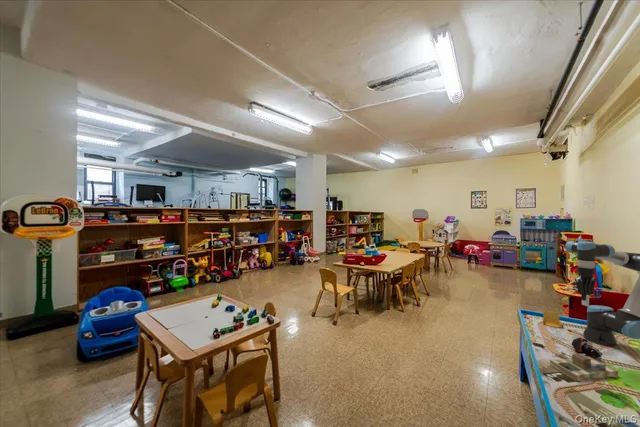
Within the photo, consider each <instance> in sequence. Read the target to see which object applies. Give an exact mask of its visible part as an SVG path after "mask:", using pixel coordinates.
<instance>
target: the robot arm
mask: <svg viewBox="0 0 640 427" xmlns="http://www.w3.org/2000/svg"><path fill="white" fill-rule="evenodd" d="M564 247H565V249H566V251H567V252H569V253H572V254H573V253H575V254H576V256H577V257H576V263H577V264H576V265H577V266H576V272H577V273H578V276H577V278H576V277H575V278H574V281H575V284H576V288H577V294H580V295H581V305H582V306H585V307H587V308H586V309H587V310H586V314H587V315H586V327H585V329H584V330H583V337H582V338H583V339H586V340H587V341H588V342H590V343H595V344H598V345H602V346H607V347H616V346H618V341H617V339H616V336H615V334H614V332H615V333H618V334H620V335H623V336H624V337H628V338H629V339H630V338H631V339H634V340H639V339H640V253H639V252H638V253H636V252H628V251H625V252H624V251H622V250H621V251H620V250H617V251H616V249H615V247H614V246H612V245H611V244H605V243H604V244H600V243H596V242H594V241H585V240H584V241H583V240H582V241H575V240H574V241H573V240H569V241H567V242H566V243H565V245H564ZM596 259H598V260H601V261H607V262H610V263H612V264H614V265H616V266H619V267H623V268H624V269H625V268H626V269H629V270H632V271H635V272H636V273H637V274H638V275H639V276H638V278H637V280H636V282H635V284H634V286H633V288H632V290H631V292H630V294H629V295H628V297H627V299H626V301H625V303H624V306H623V307H622V308H619V309H617V311H616V312H615V311H614V308H613V307H610V306H605V305H600V304H599V305H597V304H596V305H594V304H593V305H592V304H591V305H590V296H592V295H593V293H594V290H595V285H596V282H597V280H598V279H597V278H595V277H594V275H595V274H596V269H595V268H596Z"/></svg>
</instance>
